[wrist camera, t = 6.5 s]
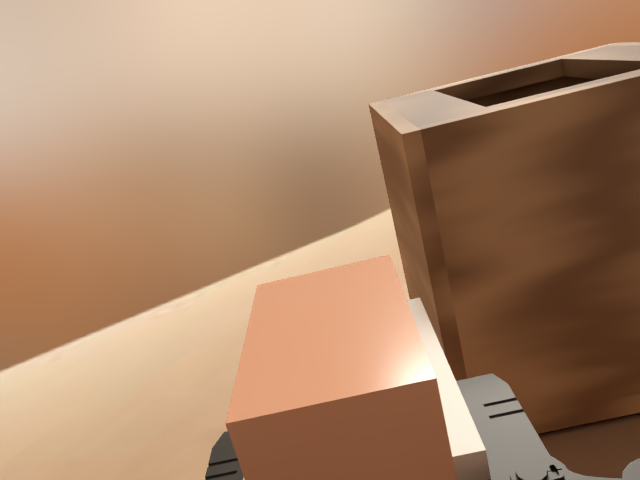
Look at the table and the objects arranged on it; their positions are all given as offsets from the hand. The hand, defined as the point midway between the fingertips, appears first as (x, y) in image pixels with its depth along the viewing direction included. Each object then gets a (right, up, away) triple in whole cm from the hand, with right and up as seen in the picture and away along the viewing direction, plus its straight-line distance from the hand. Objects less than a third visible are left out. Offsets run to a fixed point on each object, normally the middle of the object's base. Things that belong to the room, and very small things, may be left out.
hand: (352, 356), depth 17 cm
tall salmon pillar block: (+1, -7, -3) cm, 8 cm away
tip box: (+10, -1, +10) cm, 14 cm away
